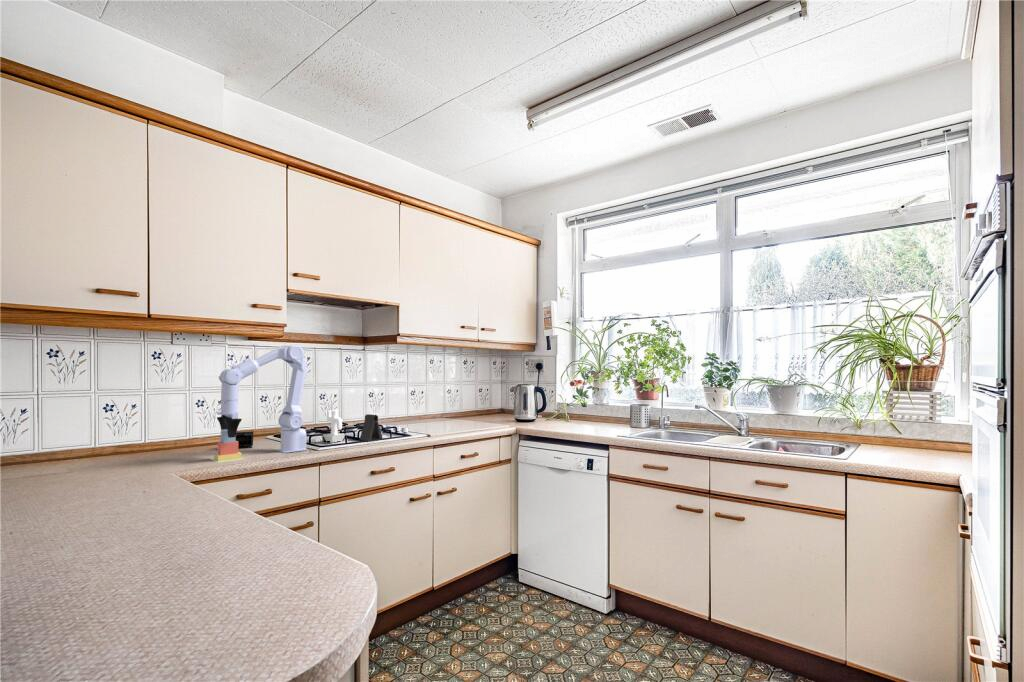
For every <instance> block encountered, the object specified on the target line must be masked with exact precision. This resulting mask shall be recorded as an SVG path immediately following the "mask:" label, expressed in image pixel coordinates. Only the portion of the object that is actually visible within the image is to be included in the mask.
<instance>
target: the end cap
mask: <svg viewBox="0 0 1024 682" xmlns="http://www.w3.org/2000/svg"><path fill="white" fill-rule="evenodd" d="M236 441H238V450H243V449H244V450H245V449H246V450H247V449H253V446H254V431H240V432H236Z"/></svg>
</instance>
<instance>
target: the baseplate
mask: <svg viewBox="0 0 1024 682" xmlns="http://www.w3.org/2000/svg"><path fill="white" fill-rule="evenodd" d="M210 460H211V461H213V462H215V463H218V464H219V463H220V464H221V463H227V462H228V463H229V462H235V461H236V462H237V461H244V460H246V458H245V457H242V458H241V459H233V460H225V461H217V460H215V459H214V457H213V458H210Z"/></svg>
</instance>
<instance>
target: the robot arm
mask: <svg viewBox="0 0 1024 682" xmlns="http://www.w3.org/2000/svg"><path fill="white" fill-rule="evenodd" d="M305 353H306V352H305V351H304V349H303V348H302V347H301V346H300V345H297V344H293V345H288V344H287V345H285V344H284V345H282V346H280V347H279V346H278V347H276V348H274V349H273V350H271V351H269V352H267V353H265V354H263V355H261V356H260V357H258V358H255V359H251V358H249V359H248V358H247V359H246V358H245V359H243V360H242V362H240V363H238V364H236V365H234V364H233V365H232V366H231V368H229V369H228V368H226V369H224V370H222V371H221V372H220V374H219V376H218V380H219V381H220V382H221V389H220V391H221V392H220V393H221V394H220V412H219V411H218V412H216V414H217V415H220V416H217V417H216V419H217V421H218V423H219V425H220V431H221V430H225V429H227V432H228V437H229V438H231V437H235V436H236V432H237V431H238V427H239V426H240V423H241V422H242V418H239V384H240V382H241V381H242V380H243V379H245V378H247V377H249V376H252V375H253V374H254V373H257V372H258V370H259V368H260V367H262V366H264V365H266V364H269V363H271V362H273V361H276V360H283V361H284V362H286V363H287V364H288V365H289V366H290V367H291V368H292V372H291V377H290V382H289V388H288V394H287V399H286V405H285V406H284V408H282V411H281V414H280V416H279V417H278V424H279V426H280V427H281V428H280V448H277V449H276V451H278V452H280V453H283V454H285V453H293V452H294V453H296V452H303V451H307V431H306V429H305V428H301V427H302V426H303V424H304V419H303V410H302V408H301V405H302V404H301V402H302V398H303V391H304V385H305V382H306V381H305V380H306V376H307V371H308V370H307V368H308V363H307V361H306V357H305Z"/></svg>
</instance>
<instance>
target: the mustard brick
mask: <svg viewBox="0 0 1024 682" xmlns="http://www.w3.org/2000/svg"><path fill="white" fill-rule="evenodd" d="M242 455H243V453H241V452H240V451H238V453H237V454H229V455H219V454H218V453H214V457H213V458H214V459H215V460H217V461H225V460H233V459H241V458H242Z"/></svg>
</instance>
